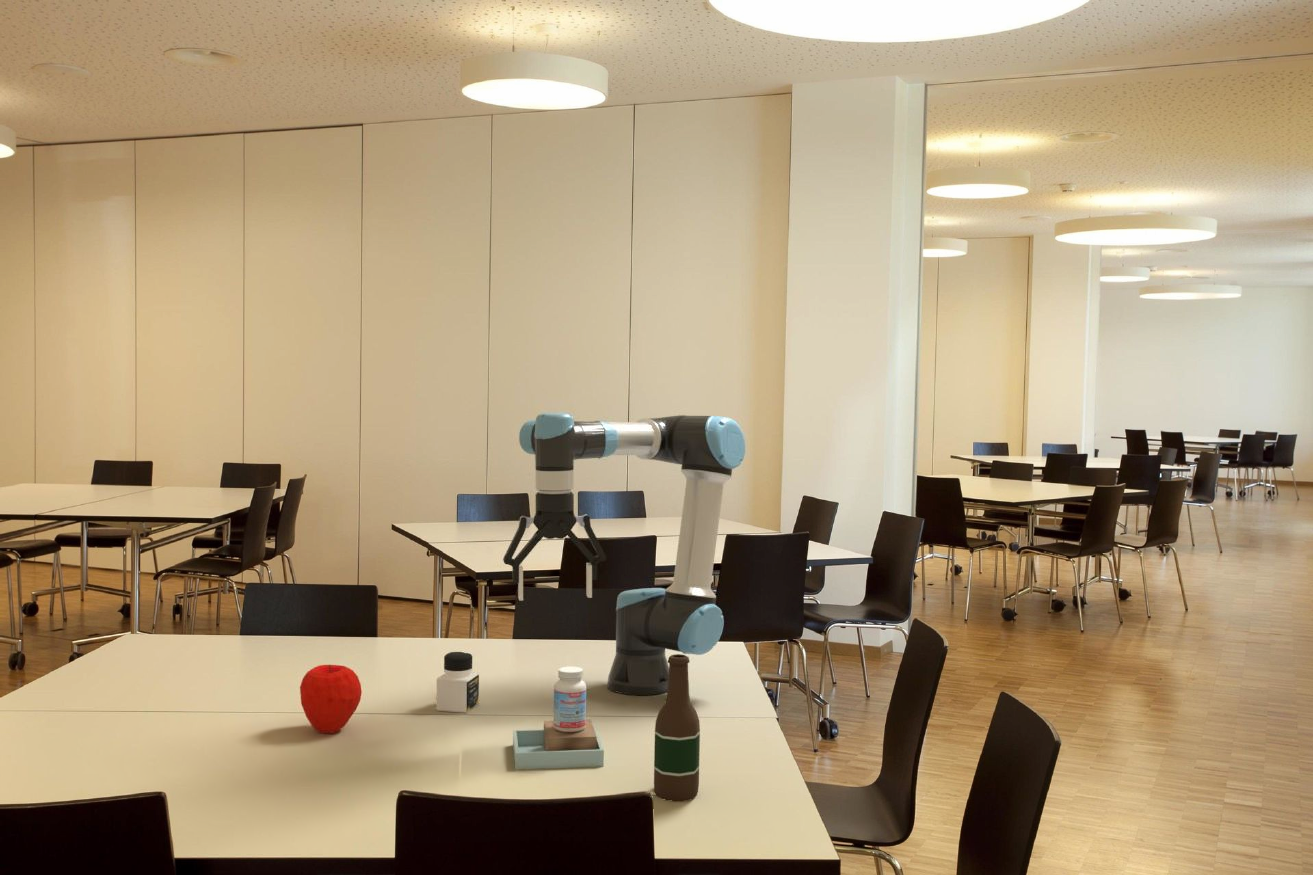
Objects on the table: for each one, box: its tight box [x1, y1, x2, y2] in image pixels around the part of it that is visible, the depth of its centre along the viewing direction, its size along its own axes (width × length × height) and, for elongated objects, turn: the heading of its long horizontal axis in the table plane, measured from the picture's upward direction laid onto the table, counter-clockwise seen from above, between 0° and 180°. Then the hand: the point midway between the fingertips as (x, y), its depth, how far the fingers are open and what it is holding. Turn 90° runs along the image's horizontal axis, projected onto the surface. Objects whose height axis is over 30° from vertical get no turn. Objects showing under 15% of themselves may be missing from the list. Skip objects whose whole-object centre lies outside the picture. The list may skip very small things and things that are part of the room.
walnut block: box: [543, 718, 597, 751], centre depth 208 cm, size 9×11×5 cm
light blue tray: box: [512, 727, 605, 770], centre depth 207 cm, size 16×14×4 cm
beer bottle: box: [653, 653, 701, 802], centre depth 189 cm, size 8×8×24 cm
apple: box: [299, 664, 363, 735], centre depth 222 cm, size 12×12×13 cm
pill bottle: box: [553, 666, 587, 732], centre depth 207 cm, size 6×6×11 cm
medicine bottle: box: [435, 650, 480, 714], centre depth 240 cm, size 7×7×12 cm
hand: (555, 598), depth 219 cm, fingers open, 13 cm apart
